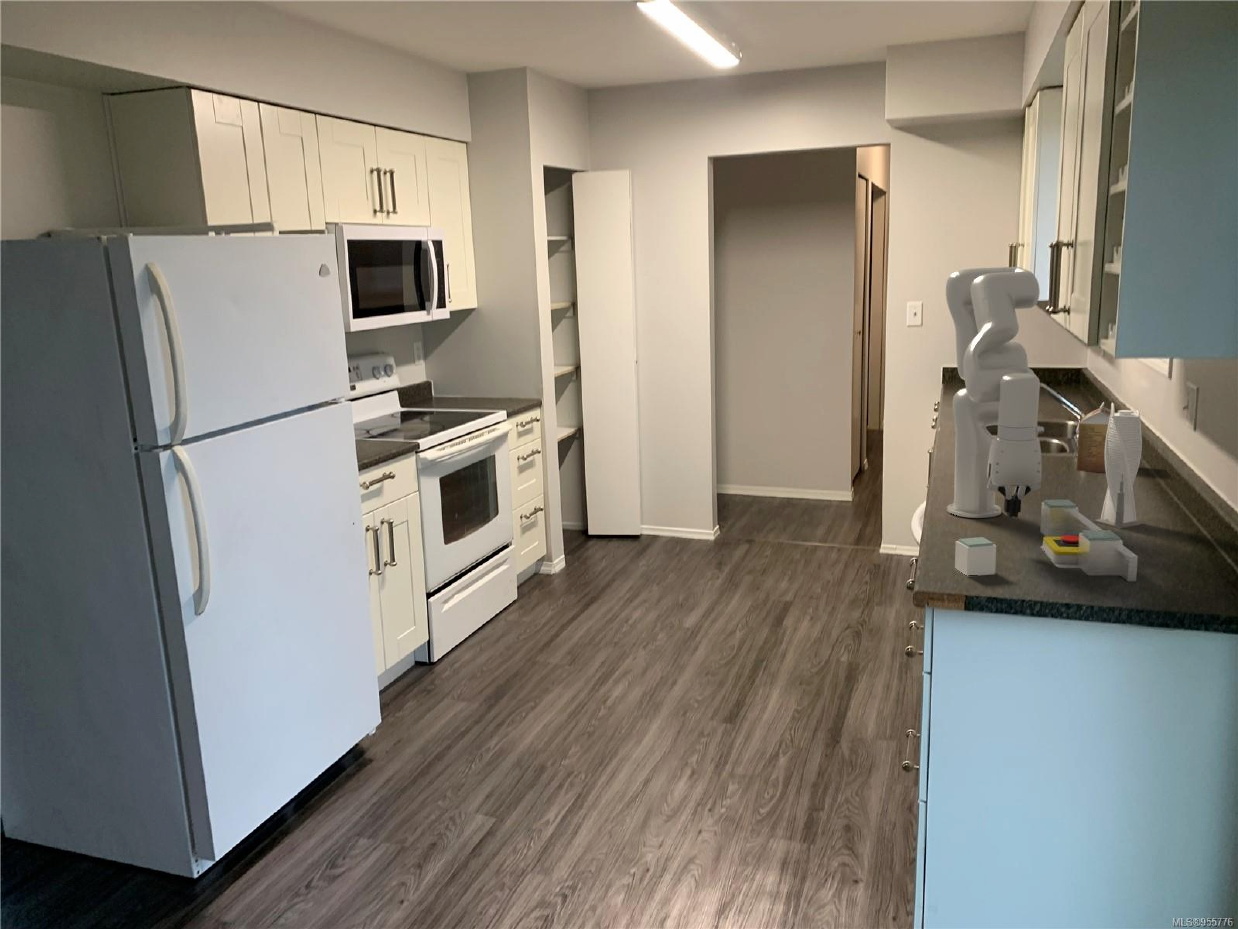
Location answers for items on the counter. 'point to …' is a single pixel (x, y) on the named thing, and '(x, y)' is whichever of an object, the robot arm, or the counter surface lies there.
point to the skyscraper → (1121, 468)
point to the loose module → (975, 556)
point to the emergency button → (1062, 550)
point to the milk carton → (1093, 440)
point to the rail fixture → (1088, 540)
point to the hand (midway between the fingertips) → (1012, 515)
